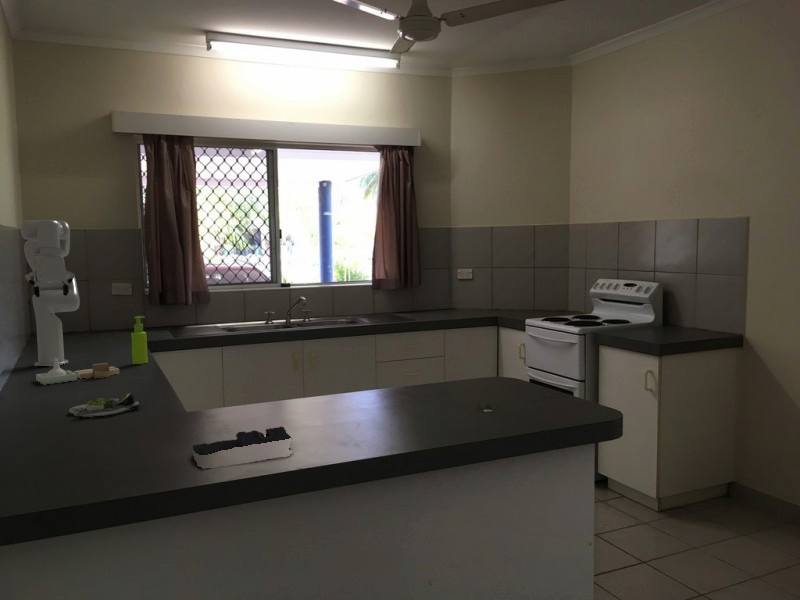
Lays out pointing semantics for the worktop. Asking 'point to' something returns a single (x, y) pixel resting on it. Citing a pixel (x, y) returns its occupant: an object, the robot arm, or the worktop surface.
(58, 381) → the dish
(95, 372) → the block
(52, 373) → the garlic bulb
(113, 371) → the board
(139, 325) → the soap dispenser
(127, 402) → the salad plate
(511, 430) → the worktop surface
